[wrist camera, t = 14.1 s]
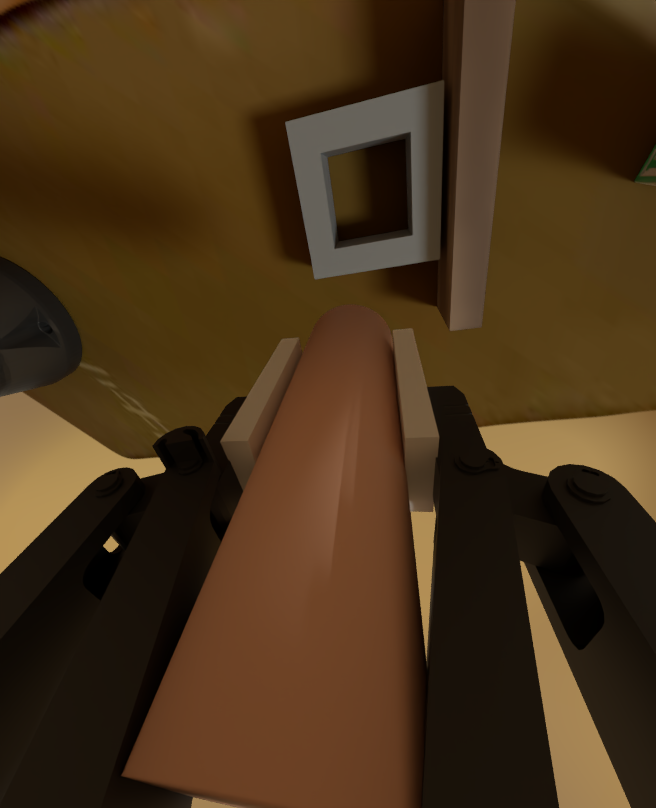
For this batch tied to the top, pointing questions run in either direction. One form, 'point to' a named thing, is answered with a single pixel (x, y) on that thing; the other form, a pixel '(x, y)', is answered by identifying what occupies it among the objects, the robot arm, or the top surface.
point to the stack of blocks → (648, 170)
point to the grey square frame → (357, 129)
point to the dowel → (307, 608)
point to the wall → (470, 150)
